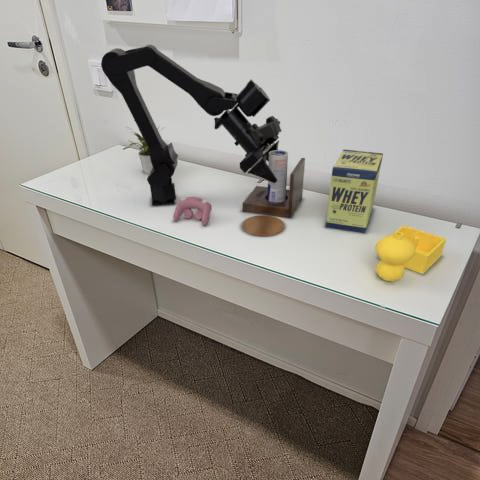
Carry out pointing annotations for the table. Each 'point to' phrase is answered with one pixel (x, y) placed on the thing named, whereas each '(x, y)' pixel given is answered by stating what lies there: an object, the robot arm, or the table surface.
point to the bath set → (407, 252)
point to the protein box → (353, 190)
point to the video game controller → (195, 203)
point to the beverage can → (278, 175)
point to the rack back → (296, 185)
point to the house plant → (143, 153)
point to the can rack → (267, 203)
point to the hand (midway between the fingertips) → (280, 175)
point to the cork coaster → (263, 225)
